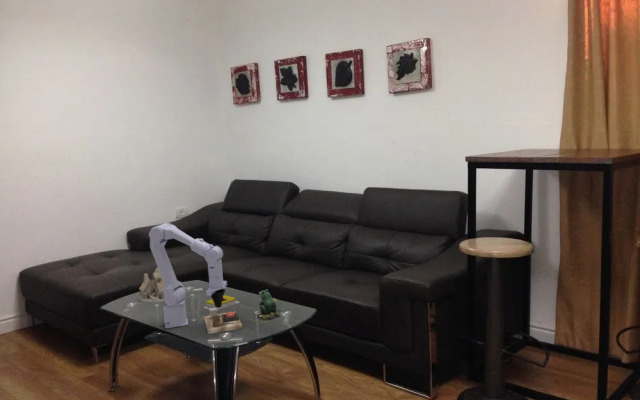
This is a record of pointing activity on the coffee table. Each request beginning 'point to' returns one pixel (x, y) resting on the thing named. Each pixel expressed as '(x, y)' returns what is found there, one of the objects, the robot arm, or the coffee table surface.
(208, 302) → the emergency button
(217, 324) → the walnut slider
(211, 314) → the grey slider
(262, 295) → the frog figurine
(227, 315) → the red push button
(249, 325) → the coffee table surface
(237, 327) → the control panel
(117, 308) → the coffee table surface
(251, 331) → the coffee table surface
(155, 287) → the ceramic cottage
